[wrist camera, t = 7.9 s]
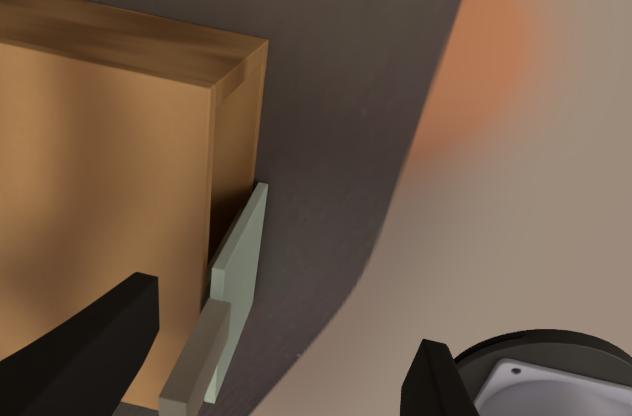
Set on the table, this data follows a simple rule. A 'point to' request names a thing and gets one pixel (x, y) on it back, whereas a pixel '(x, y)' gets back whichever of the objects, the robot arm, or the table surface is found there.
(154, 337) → the robot arm
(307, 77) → the table surface
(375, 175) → the table surface
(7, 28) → the cabinet
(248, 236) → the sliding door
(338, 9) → the table surface
